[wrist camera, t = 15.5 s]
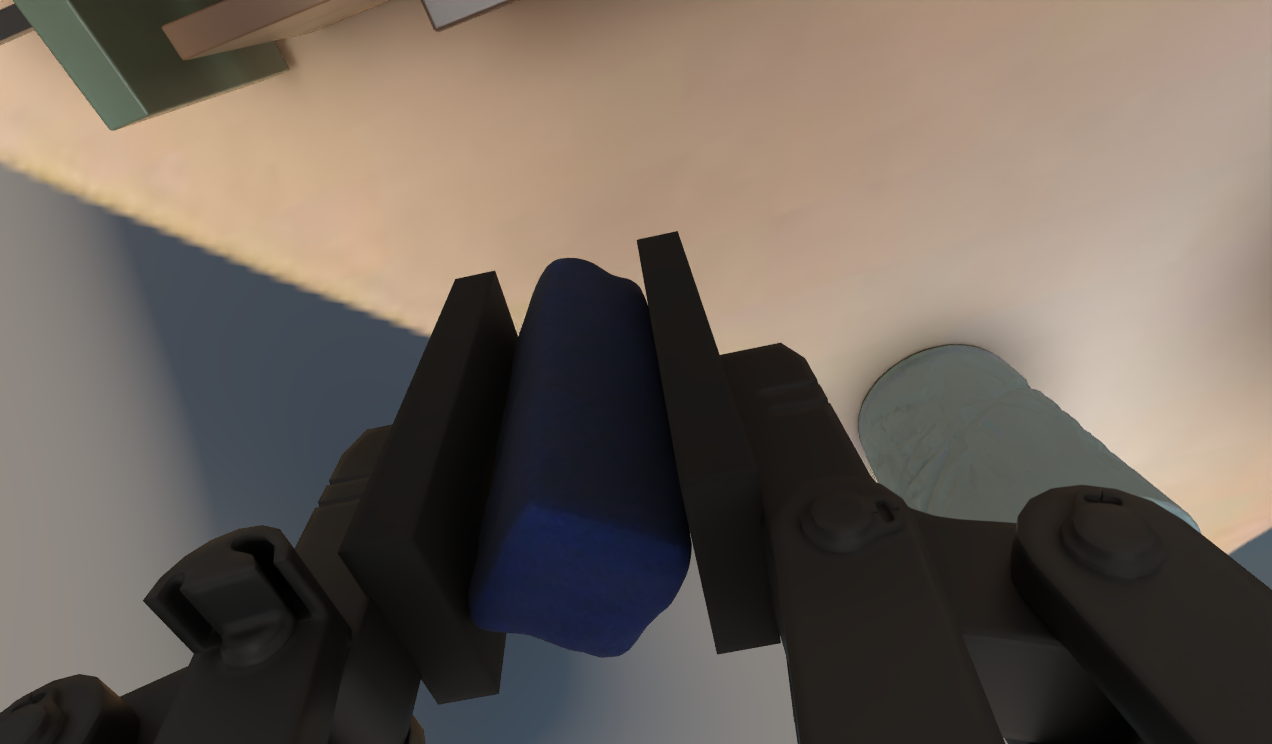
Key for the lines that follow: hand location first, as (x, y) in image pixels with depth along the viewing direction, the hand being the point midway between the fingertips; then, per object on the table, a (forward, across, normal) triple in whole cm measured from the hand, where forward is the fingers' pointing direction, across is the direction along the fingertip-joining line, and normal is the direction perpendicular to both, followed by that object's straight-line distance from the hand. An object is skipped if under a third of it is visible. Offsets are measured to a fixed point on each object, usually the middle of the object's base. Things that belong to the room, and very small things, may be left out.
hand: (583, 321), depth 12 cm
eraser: (+1, 0, 0) cm, 1 cm away
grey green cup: (+17, +15, -18) cm, 29 cm away
